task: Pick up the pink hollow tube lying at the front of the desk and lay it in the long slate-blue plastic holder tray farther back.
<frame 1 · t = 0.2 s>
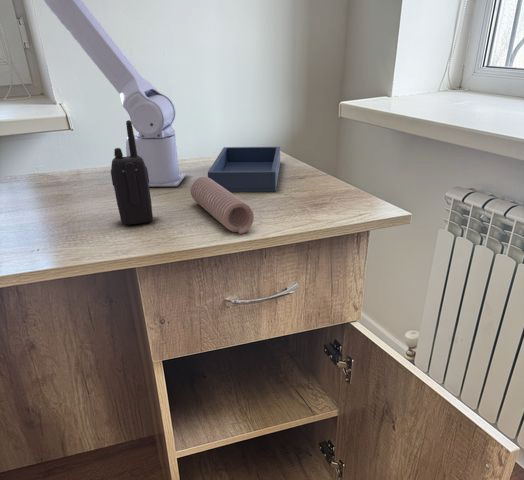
two-way radio: (138, 224, 80), on the table
holder: (247, 176, 103), on the table
pink hollow tube: (221, 218, 81), on the table
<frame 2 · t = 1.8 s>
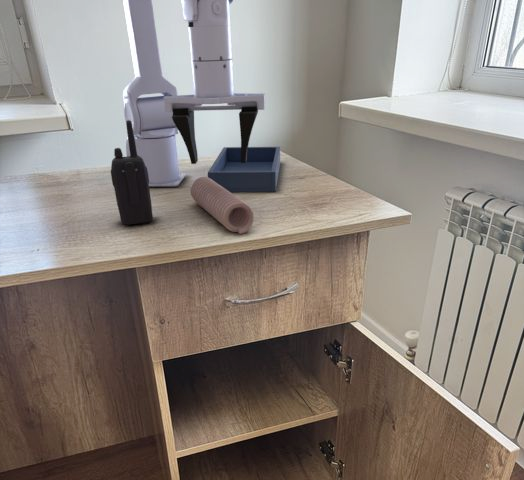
hand: (219, 162, 77), 9 cm above the table, tool pointing down, fingers open, 7 cm apart
nothing on the table moved.
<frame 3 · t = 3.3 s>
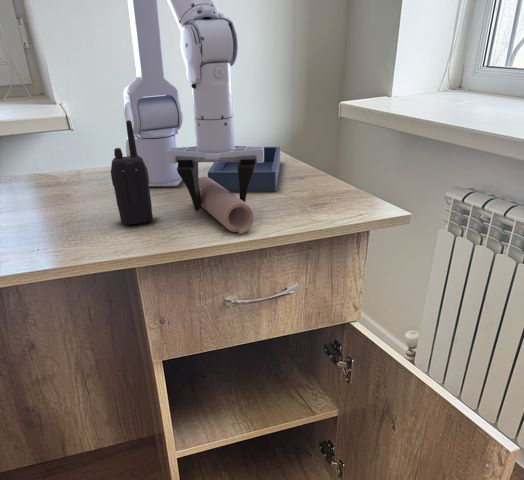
hand: (220, 208, 81), 1 cm above the table, tool pointing down, fingers closed on pink hollow tube, 7 cm apart
pink hollow tube: (221, 218, 81), on the table, touching gripper
everything else where it was.
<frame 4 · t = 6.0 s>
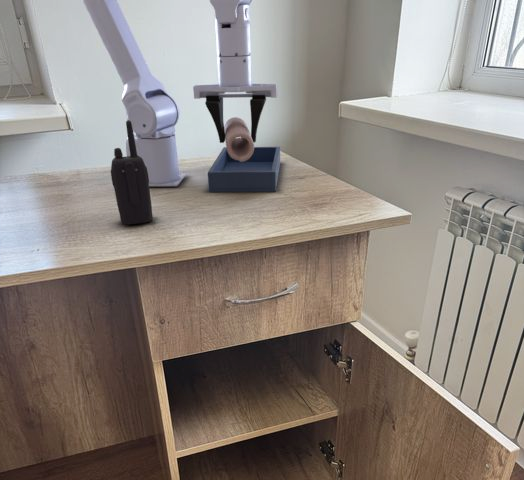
hand: (237, 141, 91), 8 cm above the table, tool pointing down, fingers closed on pink hollow tube, 5 cm apart
pink hollow tube: (238, 152, 92), point 7 cm above the table, touching gripper
everything else where it was.
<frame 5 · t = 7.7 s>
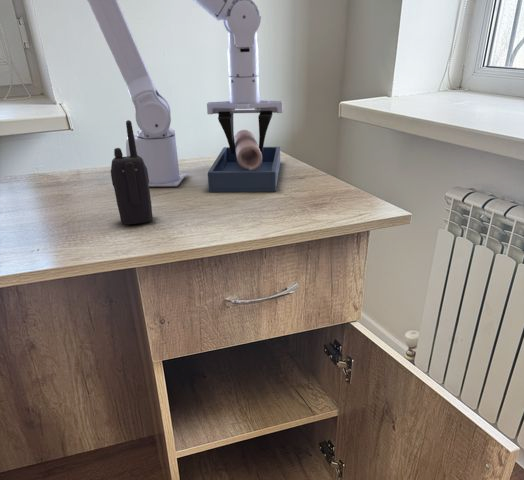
hand: (246, 152, 100), 5 cm above the table, tool pointing down, fingers closed on pink hollow tube, 5 cm apart
pink hollow tube: (247, 162, 101), point 3 cm above the table, touching gripper
everything else where it was.
when the fingers open (2 cm above the table, at t = 9.0 s): pink hollow tube stays where it is, resting on holder.
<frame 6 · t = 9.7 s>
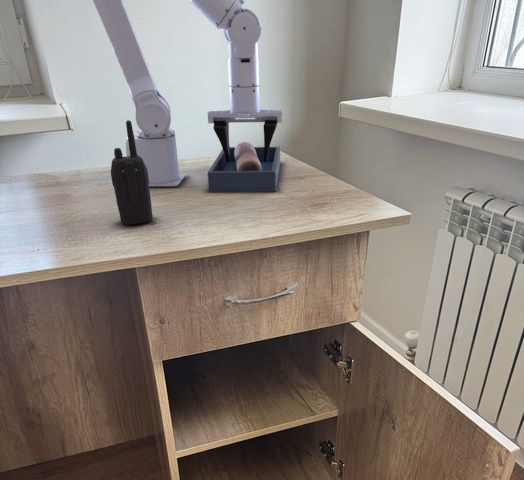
hand: (247, 161, 101), 3 cm above the table, tool pointing down, fingers open, 7 cm apart
pink hollow tube: (247, 174, 102), resting on holder
everything else where it was.
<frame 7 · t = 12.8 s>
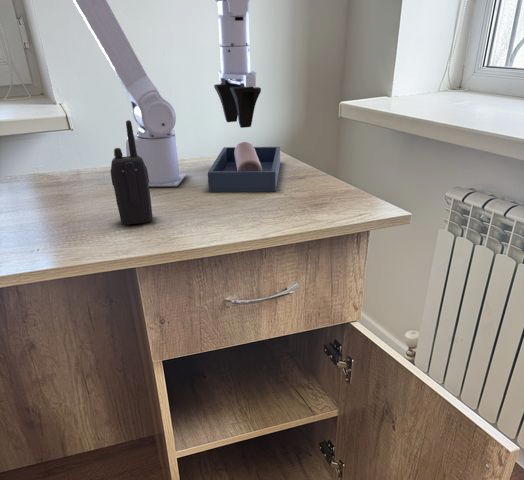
hand: (238, 124, 101), 9 cm above the table, tool pointing down, fingers open, 7 cm apart
nothing on the table moved.
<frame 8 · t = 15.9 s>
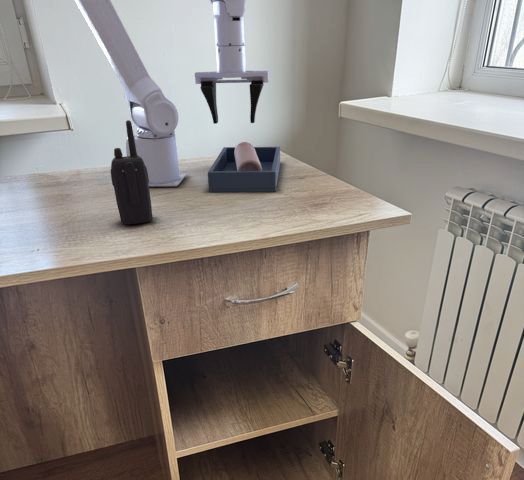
hand: (234, 122, 103), 9 cm above the table, tool pointing down, fingers open, 7 cm apart
nothing on the table moved.
at the end: pink hollow tube inside the target area in the holder (0.2 cm from its centre), point 0.4 cm above the holder's base; the gripper is holding nothing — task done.
